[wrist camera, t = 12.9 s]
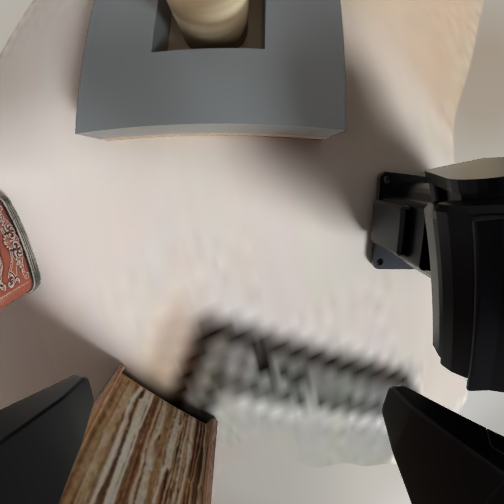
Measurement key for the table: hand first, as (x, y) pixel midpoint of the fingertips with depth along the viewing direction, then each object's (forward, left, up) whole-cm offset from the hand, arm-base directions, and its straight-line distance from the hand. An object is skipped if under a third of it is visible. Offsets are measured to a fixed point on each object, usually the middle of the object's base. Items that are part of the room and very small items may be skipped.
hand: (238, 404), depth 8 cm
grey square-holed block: (+2, -16, -13) cm, 20 cm away
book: (+13, +20, -13) cm, 28 cm away
